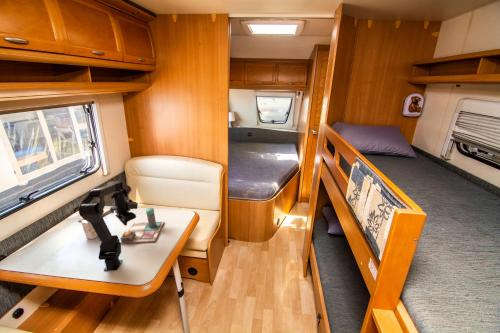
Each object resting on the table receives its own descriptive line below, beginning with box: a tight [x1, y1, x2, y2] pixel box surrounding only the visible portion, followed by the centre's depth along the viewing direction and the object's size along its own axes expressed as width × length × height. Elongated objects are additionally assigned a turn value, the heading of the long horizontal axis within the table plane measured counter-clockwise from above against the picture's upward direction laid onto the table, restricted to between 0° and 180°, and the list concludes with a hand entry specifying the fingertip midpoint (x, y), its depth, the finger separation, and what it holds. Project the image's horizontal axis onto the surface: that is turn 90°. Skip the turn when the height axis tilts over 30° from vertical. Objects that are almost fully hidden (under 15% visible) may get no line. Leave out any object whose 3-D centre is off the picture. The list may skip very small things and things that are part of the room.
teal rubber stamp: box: [145, 207, 157, 228], centre depth 144 cm, size 5×5×12 cm
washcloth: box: [77, 207, 112, 223], centre depth 160 cm, size 12×18×3 cm, turn 161°
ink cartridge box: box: [80, 220, 98, 240], centre depth 138 cm, size 9×5×15 cm, turn 168°
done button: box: [125, 231, 131, 237], centre depth 134 cm, size 3×3×3 cm
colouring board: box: [119, 221, 165, 245], centre depth 141 cm, size 20×20×4 cm
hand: (125, 225), depth 132 cm, fingers closed
